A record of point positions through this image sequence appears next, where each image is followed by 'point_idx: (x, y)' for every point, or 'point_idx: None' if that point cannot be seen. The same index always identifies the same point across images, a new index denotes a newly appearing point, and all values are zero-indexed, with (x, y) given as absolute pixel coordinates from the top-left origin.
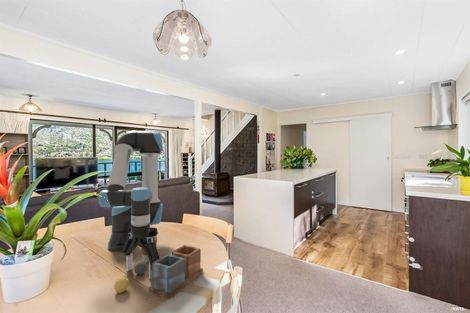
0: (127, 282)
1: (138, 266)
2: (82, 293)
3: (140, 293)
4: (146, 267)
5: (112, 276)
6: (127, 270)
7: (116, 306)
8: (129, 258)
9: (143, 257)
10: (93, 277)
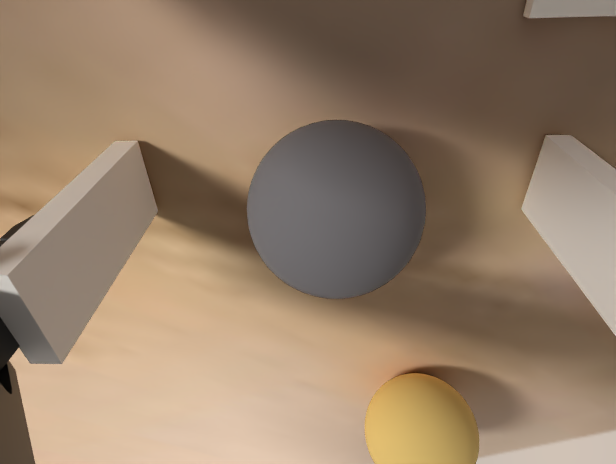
0: (478, 447)
1: (365, 293)
2: (206, 448)
3: (570, 353)
4: (415, 168)
5: (136, 309)
6: (153, 215)
7: (495, 446)
8: (74, 293)
9: None
10: (38, 364)
